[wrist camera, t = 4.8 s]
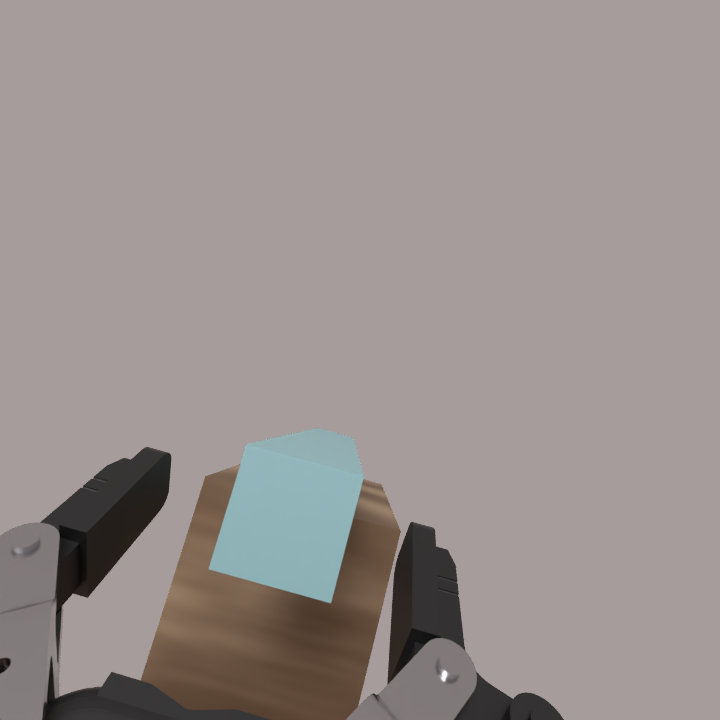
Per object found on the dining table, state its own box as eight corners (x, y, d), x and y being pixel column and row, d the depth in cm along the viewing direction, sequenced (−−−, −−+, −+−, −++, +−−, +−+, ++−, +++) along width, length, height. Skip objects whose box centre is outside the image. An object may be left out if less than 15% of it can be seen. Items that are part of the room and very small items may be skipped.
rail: (307, 464, 36) (317, 428, 37) (343, 473, 36) (353, 437, 37) (208, 569, 11) (246, 444, 11) (330, 602, 11) (364, 476, 11)
